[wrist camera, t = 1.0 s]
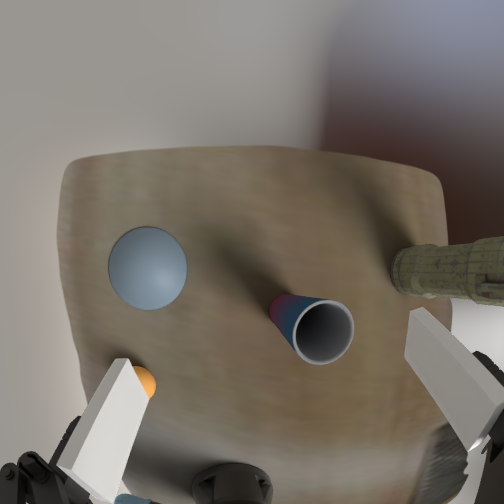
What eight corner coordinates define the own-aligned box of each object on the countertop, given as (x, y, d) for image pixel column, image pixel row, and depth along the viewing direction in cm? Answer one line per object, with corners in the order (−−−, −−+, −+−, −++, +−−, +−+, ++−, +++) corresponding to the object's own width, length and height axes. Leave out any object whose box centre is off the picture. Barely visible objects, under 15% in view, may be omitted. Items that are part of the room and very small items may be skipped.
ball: (158, 395, 37) (152, 411, 32) (125, 389, 37) (115, 404, 31) (158, 364, 38) (152, 377, 32) (124, 358, 37) (113, 370, 32)
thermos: (433, 276, 46) (590, 277, 11) (394, 308, 44) (574, 340, 9) (419, 235, 46) (584, 208, 11) (377, 264, 44) (576, 258, 9)
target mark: (182, 314, 39) (182, 314, 39) (106, 303, 37) (106, 303, 37) (191, 232, 40) (191, 231, 39) (114, 223, 38) (114, 223, 38)
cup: (315, 308, 42) (365, 328, 27) (285, 341, 41) (322, 376, 26) (285, 278, 41) (325, 285, 26) (253, 312, 40) (278, 337, 25)
